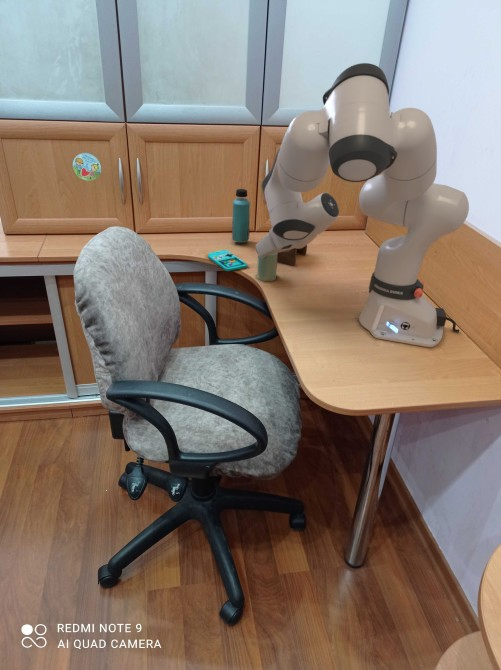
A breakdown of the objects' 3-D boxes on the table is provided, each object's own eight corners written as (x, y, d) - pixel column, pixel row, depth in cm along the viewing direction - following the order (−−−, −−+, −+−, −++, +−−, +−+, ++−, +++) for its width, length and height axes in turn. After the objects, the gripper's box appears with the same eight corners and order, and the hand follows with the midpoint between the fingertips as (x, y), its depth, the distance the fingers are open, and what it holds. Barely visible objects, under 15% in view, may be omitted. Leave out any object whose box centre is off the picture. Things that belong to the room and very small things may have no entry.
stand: (306, 254, 173) (308, 236, 169) (293, 266, 163) (295, 246, 160) (273, 247, 177) (274, 229, 173) (259, 258, 168) (261, 239, 164)
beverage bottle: (248, 246, 177) (251, 192, 166) (231, 245, 176) (232, 191, 166) (249, 240, 182) (251, 187, 171) (231, 239, 182) (233, 186, 171)
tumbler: (278, 275, 156) (280, 249, 151) (271, 282, 151) (273, 256, 147) (261, 271, 158) (263, 245, 153) (253, 278, 153) (255, 252, 149)
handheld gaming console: (226, 248, 171) (248, 264, 160) (226, 251, 171) (248, 267, 161) (205, 253, 167) (226, 268, 156) (205, 255, 167) (226, 271, 157)
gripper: (318, 216, 143) (293, 237, 155) (266, 228, 132) (244, 250, 144) (327, 235, 143) (301, 254, 154) (276, 249, 132) (252, 269, 143)
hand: (273, 252), depth 149 cm, fingers open, 8 cm apart
